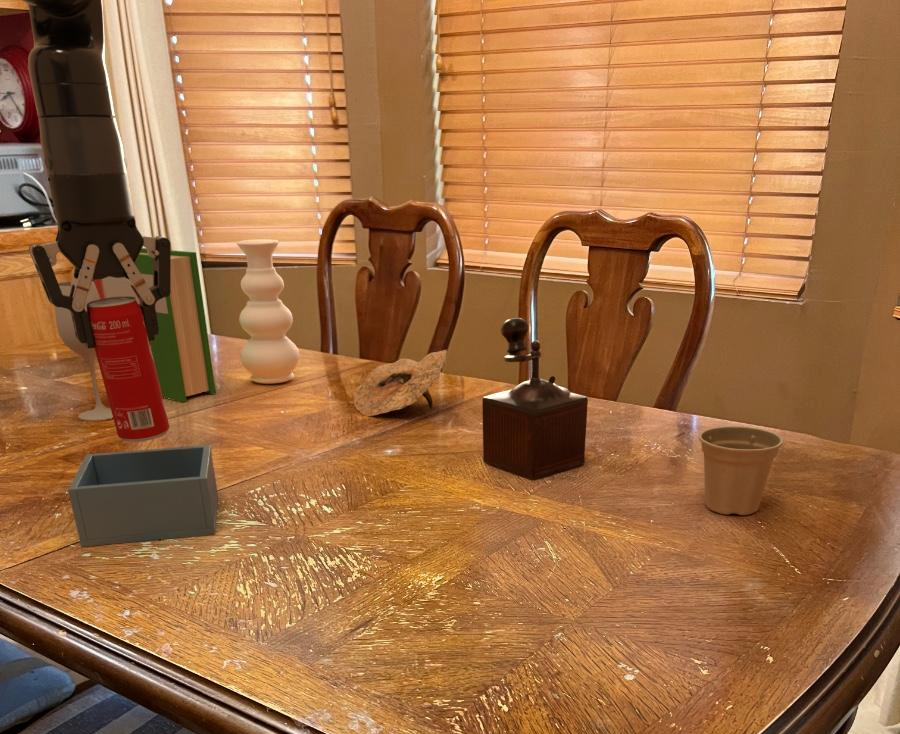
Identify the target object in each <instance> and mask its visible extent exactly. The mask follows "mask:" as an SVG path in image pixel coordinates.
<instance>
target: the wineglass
mask: <svg viewBox="0 0 900 734" xmlns="http://www.w3.org/2000/svg"><path fill="white" fill-rule="evenodd" d="M58 284H59V287H60V289H61V292H62V294H63V295H67V296H69V293H70V288H71V281H61V282H58ZM99 299H101V297H100V293H99V291H98V289H97V286H96V283H95V282H94V281H92V282H91V287H90V290H89V291H88V294H87V298H86V303H85V307H84V308H85V311H87V303H89V302H91V301H95V300H99ZM54 316H55V324H56V329H57V331H58V335H59V337H60V339H61V340H62V342H63V343H64V345H65V346H66V347H67V348H69V350H71V352H73V353H75V354H76V355H78V356H79V357H81V358H83V359H84V360H85V362H86V363H87V365H88V370H89V373H90V378H91V383H92V388H93V393H94V398H95V405H94V408H93V409H90V410H86V411H83V412H80V413H79V414H78V415H77V416H78V420H81V421H84V422H102V421H101V420H103V421H108V420H107V419H110V420H112V418H113V415H112V412H111V408H110V407H106V406H105V405H104V403H102V399H101V396H100V391H99V387H98V385H99V384H98V381H97V376H96V370H95V367H94V366H95V365H94V363H95V358H97V356H96V352H95V348H88V349H87V348H86V347H85V346H84V343H80V342H79V341H78V339H77V338H76V335H75V330H74V325H73V321H72V316H71V312H70V311H69V309H66V308H62V307H56V306H54Z"/></svg>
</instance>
